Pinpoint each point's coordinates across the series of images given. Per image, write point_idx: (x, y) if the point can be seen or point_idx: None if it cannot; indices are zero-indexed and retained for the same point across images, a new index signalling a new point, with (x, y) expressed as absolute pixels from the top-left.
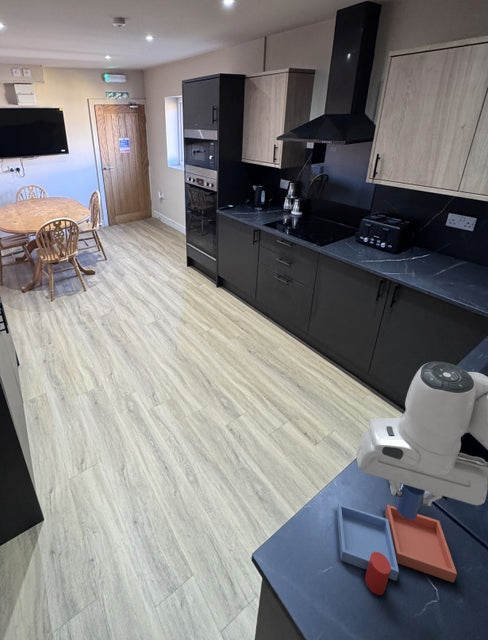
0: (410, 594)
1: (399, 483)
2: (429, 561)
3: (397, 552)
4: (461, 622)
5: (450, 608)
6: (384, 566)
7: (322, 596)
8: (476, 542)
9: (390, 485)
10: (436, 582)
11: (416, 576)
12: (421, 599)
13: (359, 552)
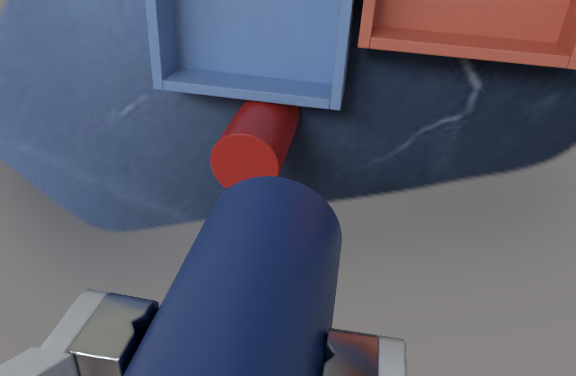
0: (378, 117)
1: (114, 360)
2: (502, 4)
3: (358, 43)
4: (510, 155)
5: (496, 128)
6: (256, 174)
7: (125, 169)
8: None
9: (77, 300)
10: (491, 64)
11: (423, 62)
12: (409, 123)
13: (232, 39)
